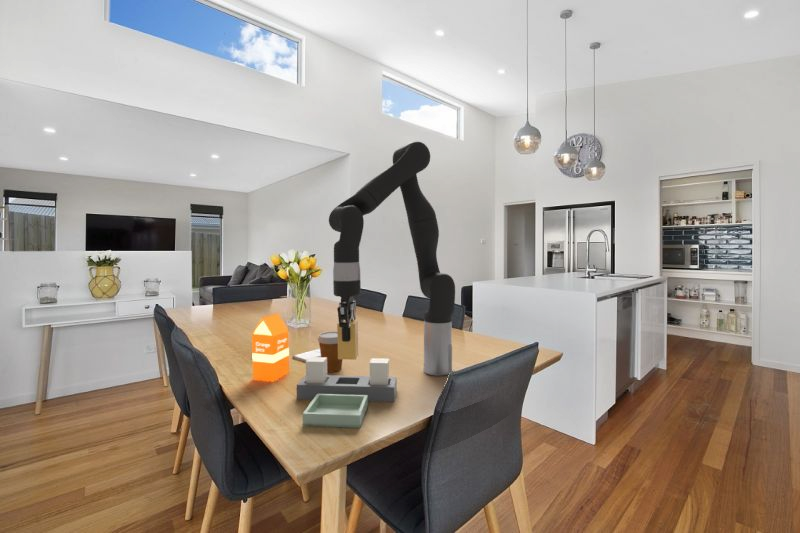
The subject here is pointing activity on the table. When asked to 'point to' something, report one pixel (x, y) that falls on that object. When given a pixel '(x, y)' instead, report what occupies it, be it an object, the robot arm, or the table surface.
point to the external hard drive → (307, 355)
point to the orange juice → (270, 349)
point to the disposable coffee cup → (330, 350)
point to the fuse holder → (348, 388)
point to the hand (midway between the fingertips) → (347, 338)
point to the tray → (336, 411)
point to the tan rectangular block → (348, 348)
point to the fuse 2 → (379, 371)
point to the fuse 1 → (316, 370)
